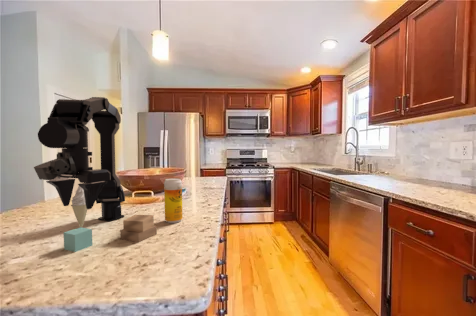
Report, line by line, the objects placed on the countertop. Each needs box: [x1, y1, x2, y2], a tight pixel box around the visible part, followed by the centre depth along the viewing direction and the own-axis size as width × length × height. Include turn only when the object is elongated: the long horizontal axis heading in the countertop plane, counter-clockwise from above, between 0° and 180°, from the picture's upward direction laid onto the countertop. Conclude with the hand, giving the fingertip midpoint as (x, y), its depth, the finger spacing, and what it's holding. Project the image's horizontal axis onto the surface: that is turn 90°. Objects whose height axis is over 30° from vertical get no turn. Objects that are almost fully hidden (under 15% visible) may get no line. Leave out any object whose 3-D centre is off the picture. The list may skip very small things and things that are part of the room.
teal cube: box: [63, 227, 93, 253], centre depth 63 cm, size 4×4×4 cm
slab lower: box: [119, 224, 158, 243], centre depth 71 cm, size 7×7×3 cm
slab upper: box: [122, 214, 155, 232], centre depth 70 cm, size 6×6×3 cm
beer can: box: [163, 177, 183, 224], centre depth 85 cm, size 6×6×15 cm
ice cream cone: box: [70, 185, 88, 228], centre depth 78 cm, size 5×5×15 cm
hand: (77, 207), depth 63 cm, fingers open, 9 cm apart
